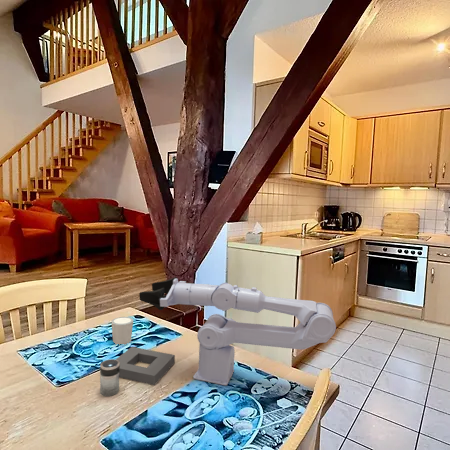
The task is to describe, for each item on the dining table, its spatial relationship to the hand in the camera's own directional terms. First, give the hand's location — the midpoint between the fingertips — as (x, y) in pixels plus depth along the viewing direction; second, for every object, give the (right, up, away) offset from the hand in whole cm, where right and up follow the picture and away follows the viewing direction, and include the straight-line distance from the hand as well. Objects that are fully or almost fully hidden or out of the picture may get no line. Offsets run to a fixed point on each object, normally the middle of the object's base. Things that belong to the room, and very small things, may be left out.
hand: (146, 291), depth 94 cm
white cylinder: (-12, -20, +16) cm, 28 cm away
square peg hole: (-1, -21, -1) cm, 21 cm away
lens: (-6, -22, -12) cm, 26 cm away
